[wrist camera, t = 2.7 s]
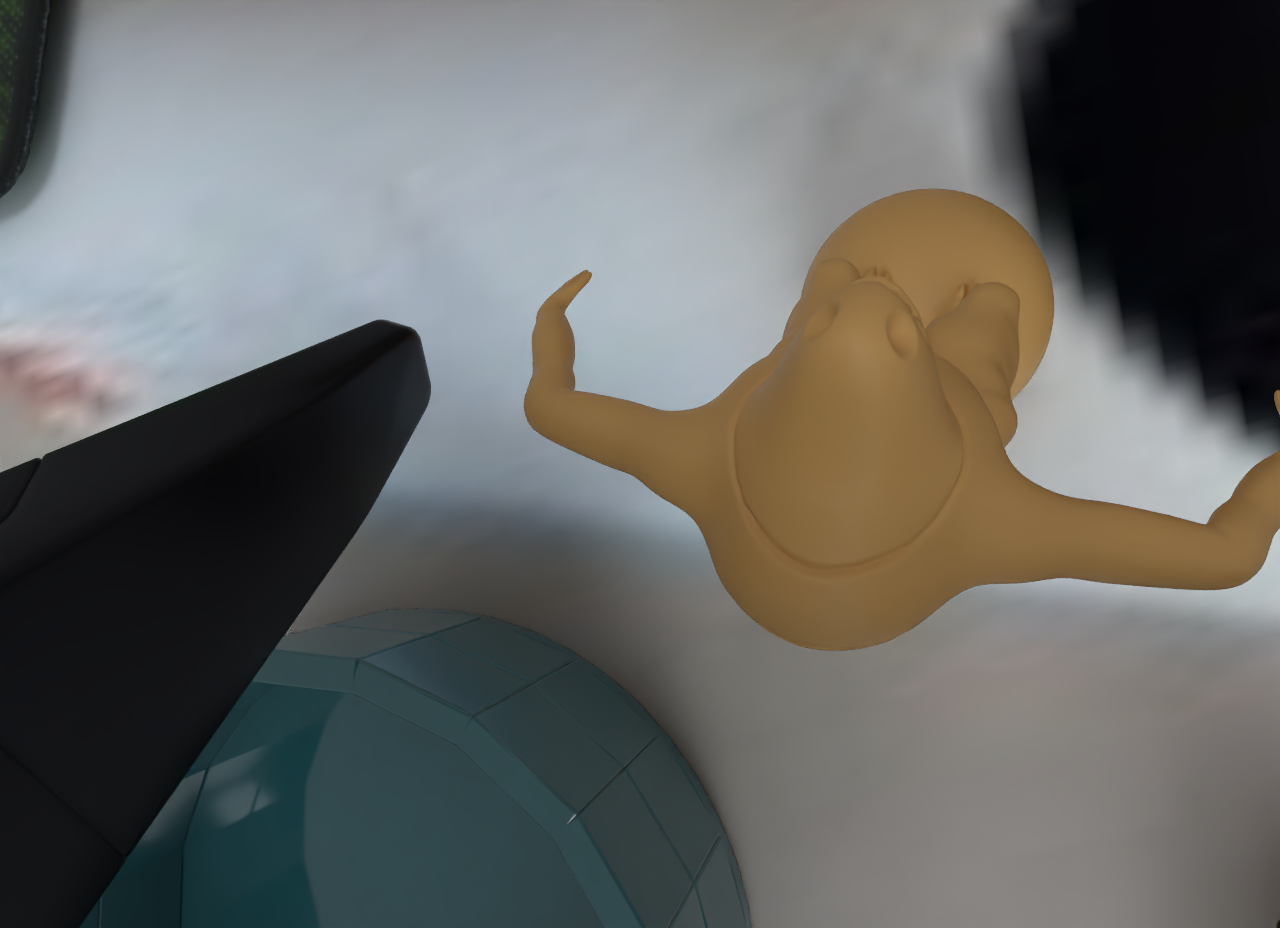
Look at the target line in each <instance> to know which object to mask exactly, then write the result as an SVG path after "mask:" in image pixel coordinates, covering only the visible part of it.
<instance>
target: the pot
mask: <svg viewBox="0 0 1280 928" xmlns="http://www.w3.org/2000/svg"><path fill="white" fill-rule="evenodd" d="M125 858H126V862H125V863H124V865H123V866H122V868H121V869H120V871H119V872H118V873H117V875H116V876H115V878H114V879H113V881H112V882H111V883H110V885H109V886H108V888H107V889H106V890H105V892H104V893H103V895H102V896H101V898H100V899H99V900H98V902H97V903H96V905H95V906H94V908H93V909H92V910H91V912H90V913H89V915H88V916H87V918H86V919H85V920H84V922H83V923H82V925H81V926H80V927H79V928H751V920H750V913H749V907H748V903H747V899H746V896H745V892H744V888H743V884H742V880H741V876H740V873H739V869H738V865H737V862H736V859H735V856H734V854H733V851H732V849H731V846H730V844H729V841H728V839H727V836H726V834H725V831H724V829H723V826H722V824H721V821H720V818H719V816H718V814H717V813H716V811H715V809H714V807H713V805H712V803H711V801H710V800H709V798H708V796H707V794H706V792H705V790H704V789H703V787H702V785H701V783H700V781H699V779H698V777H697V776H696V774H695V773H694V771H693V770H692V768H691V767H690V765H689V764H688V763H687V761H686V760H685V758H684V757H683V756H682V754H681V753H680V751H679V750H678V748H677V747H676V746H675V744H674V743H673V741H672V740H671V739H670V737H669V736H668V735H667V734H666V733H665V731H664V730H663V729H662V728H661V727H660V726H659V725H658V724H657V723H656V721H655V720H654V719H653V718H652V717H651V716H650V715H649V714H648V713H647V711H646V710H645V709H644V708H643V707H642V706H641V705H640V704H639V703H638V702H637V701H636V700H635V699H634V698H633V697H632V696H630V695H629V694H628V693H627V692H626V691H625V690H624V689H622V688H621V687H620V686H619V685H618V684H617V683H616V682H614V681H613V680H612V679H611V678H610V677H609V676H607V675H606V674H605V673H604V672H602V671H601V670H599V669H598V668H596V667H595V666H593V665H592V664H590V663H589V662H587V661H586V660H584V659H583V658H581V657H580V656H578V655H577V654H576V653H574V652H573V651H571V650H570V649H568V648H566V647H564V646H562V645H560V644H558V643H556V642H554V641H552V640H550V639H548V638H546V637H544V636H542V635H540V634H538V633H536V632H534V631H532V630H529V629H526V628H523V627H520V626H517V625H514V624H511V623H508V622H505V621H502V620H499V619H497V618H494V617H489V616H484V615H478V614H473V613H468V612H462V611H457V610H442V609H418V608H416V609H407V610H398V609H390V610H389V609H386V610H382V611H378V612H375V613H371V614H367V615H363V616H359V617H355V618H351V619H348V620H344V621H340V622H336V623H332V624H328V625H325V626H321V627H317V628H313V629H309V630H305V631H301V632H297V633H294V634H290V635H286V636H283V637H282V639H281V640H280V642H279V643H278V645H277V646H276V647H275V649H274V650H273V652H272V653H271V654H270V656H269V657H268V659H267V660H266V662H265V663H264V664H263V666H262V667H261V669H260V670H259V672H258V673H257V674H256V676H255V677H254V679H253V680H252V682H251V683H250V684H249V686H248V687H247V689H246V690H245V692H244V693H243V694H242V696H241V697H240V699H239V700H238V702H237V703H236V704H235V706H234V707H233V709H232V710H231V711H230V713H229V714H228V716H227V717H226V719H225V720H224V721H223V723H222V724H221V726H220V727H219V729H218V730H217V731H216V733H215V734H214V736H213V737H212V739H211V740H210V741H209V743H208V744H207V746H206V747H205V749H204V750H203V751H202V753H201V754H200V756H199V757H198V759H197V760H196V761H195V763H194V764H193V766H192V767H191V768H190V770H189V771H188V773H187V774H186V776H185V777H184V778H183V780H182V781H181V783H180V784H179V786H178V787H177V788H176V790H175V791H174V793H173V794H172V796H171V797H170V798H169V800H168V801H167V803H166V804H165V806H164V807H163V808H162V810H161V811H160V813H159V814H158V816H157V817H156V818H155V820H154V821H153V823H152V824H151V825H150V827H149V828H148V830H147V831H146V833H145V834H144V835H143V837H142V838H141V840H140V841H139V843H138V844H137V845H136V847H135V848H134V850H133V851H132V853H131V854H130V855H129V856H128V857H125Z"/></svg>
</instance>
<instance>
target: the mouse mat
mask: <svg viewBox="0 0 1280 928" xmlns="http://www.w3.org/2000/svg"><path fill="white" fill-rule="evenodd" d="M50 1H51V0H0V198H1V197H2V196H3V195H5V194H6V193H7V192H8V191H9V190H10V189H11V188H12V187H13V185H14V184H15V182H16V180H17V178H18V177H19V175H20V174H21V173H22V171H23V170H24V167H25V164H26V161H27V158H28V155H29V152H30V144H31V141H32V138H33V132H34V125H35V116H36V108H37V102H38V95H39V88H40V81H41V75H42V63H43V56H44V49H45V43H46V37H47V27H48V18H49V11H50Z"/></svg>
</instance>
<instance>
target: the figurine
mask: <svg viewBox="0 0 1280 928" xmlns="http://www.w3.org/2000/svg"><path fill="white" fill-rule="evenodd" d="M591 276H592V273H591V272H589V271H588V270H585V271H583V272H581V273H580V274H578V275H576V276H575V277H573V278H572V279H571V280H569V281H568V282H566V283H565V284H564V285H563V286H562V287H560V288H559V289H558V290H557V291H556V292H555V293H553V294H552V295H551V296H550V297H549V298H548V299H547V300H546V301H545V302H544V303H543V305H542V306H541V307H540V309H539V311H538V313H537V317H536V325H535V327H534V330H533V333H532V354H533V374H532V378H531V380H530V383H529V386H528V388H527V391H526V394H525V398H524V411H525V415H526V418H527V421H528V423H529V424H530V426H531V427H532V428H533V429H534V430H535V431H536V432H538V433H539V434H541V435H542V436H544V437H545V438H547V439H549V440H551V441H553V442H555V443H557V444H559V445H561V446H563V447H565V448H567V449H570V450H572V451H574V452H576V453H578V454H581V455H583V456H585V457H587V458H590V459H592V460H594V461H596V462H599V463H601V464H604V465H606V466H609V467H611V468H614V469H617V470H620V471H623V472H626V473H628V474H630V475H632V476H634V477H636V478H637V479H638V480H640V481H641V482H642V483H643V484H645V485H646V486H647V487H648V488H649V489H650V490H652V491H653V492H654V493H656V494H657V495H659V496H660V497H661V498H663V499H665V500H666V501H668V502H670V503H672V504H673V505H675V506H677V507H678V508H680V509H681V510H683V511H684V512H686V513H687V514H688V515H689V516H690V517H691V518H692V519H693V520H694V521H695V522H696V524H697V525H698V527H699V528H700V530H701V532H702V534H703V536H704V539H705V541H706V544H707V546H708V549H709V552H710V555H711V558H712V561H713V564H714V567H715V569H716V572H717V574H718V576H719V578H720V580H721V582H722V584H723V586H724V587H725V589H726V590H727V592H728V593H729V594H730V596H731V597H732V598H733V599H734V600H735V602H736V603H737V604H738V605H739V606H740V608H741V609H742V610H743V611H744V612H745V613H746V614H747V615H748V616H749V617H751V618H752V619H753V620H754V621H755V622H756V623H758V624H759V625H760V626H762V627H763V628H765V629H766V630H768V631H769V632H771V633H772V634H774V635H776V636H778V637H780V638H782V639H784V640H786V641H788V642H790V643H793V644H796V645H799V646H802V647H806V648H811V649H817V650H829V651H842V650H853V649H860V648H865V647H870V646H874V645H877V644H881V643H884V642H887V641H889V640H892V639H894V638H896V637H898V636H899V635H901V634H903V633H905V632H907V631H909V630H911V629H912V628H914V627H915V626H917V625H918V624H920V623H921V622H922V621H924V620H925V619H926V618H928V617H929V616H930V615H931V614H932V613H934V612H935V611H936V610H937V609H939V608H940V607H941V606H942V605H944V604H945V603H946V602H947V601H949V600H950V599H951V598H953V597H954V596H956V595H957V594H959V593H961V592H963V591H965V590H967V589H969V588H972V587H976V586H980V585H986V584H1011V583H1026V582H1034V581H1040V580H1047V579H1055V578H1073V579H1081V580H1087V581H1094V582H1101V583H1110V584H1121V585H1133V586H1145V587H1158V588H1171V589H1187V590H1221V589H1229V588H1233V587H1237V586H1239V585H1242V584H1243V583H1245V582H1247V581H1248V580H1250V579H1251V578H1252V577H1253V576H1254V575H1256V573H1257V572H1258V571H1259V570H1260V569H1261V567H1262V566H1263V564H1264V562H1265V560H1266V557H1267V554H1268V551H1269V548H1270V545H1271V542H1272V539H1273V536H1274V534H1275V533H1276V532H1277V530H1278V529H1279V528H1280V451H1278V452H1276V453H1274V454H1273V455H1271V456H1269V457H1268V458H1266V459H1264V460H1262V461H1261V462H1259V463H1258V464H1257V465H1255V466H1254V467H1253V468H1252V469H1251V470H1250V471H1249V472H1248V473H1247V474H1246V475H1245V476H1244V477H1243V479H1242V480H1241V481H1240V482H1239V484H1238V485H1237V487H1236V489H1235V490H1234V492H1233V494H1232V496H1231V498H1230V499H1229V500H1228V501H1227V502H1225V503H1224V504H1222V505H1221V506H1220V507H1218V508H1217V509H1216V510H1215V511H1214V512H1213V514H1212V515H1211V517H1210V518H1209V520H1208V523H1207V524H1205V525H1204V524H1200V523H1196V522H1192V521H1188V520H1185V519H1181V518H1177V517H1173V516H1170V515H1165V514H1161V513H1157V512H1152V511H1147V510H1143V509H1138V508H1134V507H1129V506H1124V505H1119V504H1114V503H1108V502H1101V501H1093V500H1085V499H1078V498H1073V497H1068V496H1064V495H1061V494H1058V493H1055V492H1052V491H1050V490H1047V489H1045V488H1043V487H1041V486H1039V485H1037V484H1035V483H1034V482H1032V481H1030V480H1029V479H1027V478H1026V477H1025V476H1023V475H1022V474H1021V473H1020V472H1019V471H1018V470H1017V469H1016V468H1015V467H1014V466H1013V464H1012V463H1011V462H1010V460H1009V458H1008V456H1007V454H1006V452H1005V449H1004V448H1005V447H1006V446H1007V444H1008V443H1009V442H1010V441H1011V439H1012V438H1013V436H1014V434H1015V432H1016V429H1017V415H1016V411H1015V409H1014V407H1013V404H1012V399H1013V398H1014V397H1015V396H1016V395H1017V394H1018V393H1019V392H1020V391H1021V390H1022V389H1023V388H1024V387H1025V385H1026V384H1027V383H1028V382H1029V380H1030V379H1031V377H1032V376H1033V374H1034V373H1035V371H1036V370H1037V368H1038V366H1039V364H1040V362H1041V360H1042V358H1043V356H1044V354H1045V351H1046V348H1047V346H1048V342H1049V339H1050V335H1051V331H1052V325H1053V317H1054V296H1053V288H1052V282H1051V278H1050V274H1049V271H1048V268H1047V265H1046V263H1045V260H1044V258H1043V256H1042V254H1041V252H1040V250H1039V248H1038V247H1037V245H1036V243H1035V242H1034V240H1033V239H1032V238H1031V236H1030V235H1029V234H1028V232H1027V231H1026V230H1025V229H1024V228H1023V227H1022V226H1021V225H1020V224H1019V223H1018V222H1017V221H1016V220H1015V219H1014V218H1013V217H1012V216H1010V215H1009V214H1008V213H1006V212H1005V211H1004V210H1002V209H1001V208H999V207H997V206H996V205H994V204H992V203H990V202H988V201H986V200H984V199H982V198H979V197H976V196H974V195H971V194H967V193H963V192H959V191H954V190H946V189H919V190H911V191H906V192H901V193H897V194H894V195H891V196H888V197H885V198H882V199H880V200H878V201H876V202H873V203H871V204H870V205H868V206H866V207H864V208H863V209H861V210H859V211H858V212H856V213H855V214H854V215H852V216H851V217H850V218H848V219H847V220H846V221H845V222H843V223H842V224H841V225H840V226H839V227H838V228H837V229H836V230H835V231H834V232H833V233H832V234H831V236H830V237H829V238H828V239H827V240H826V242H825V243H824V244H823V246H822V247H821V249H820V250H819V252H818V253H817V255H816V257H815V259H814V261H813V263H812V265H811V267H810V269H809V271H808V274H807V277H806V279H805V283H804V286H803V290H802V295H801V299H800V300H799V301H798V303H797V304H796V306H795V307H794V309H793V310H792V312H791V314H790V316H789V318H788V321H787V324H786V327H785V330H784V334H783V338H782V341H780V342H779V343H778V344H777V345H776V347H775V348H774V349H773V350H772V352H771V353H770V354H769V355H768V356H767V357H765V358H763V359H761V360H760V361H758V362H756V363H755V364H753V365H752V366H750V367H749V368H748V369H746V370H745V371H744V372H743V373H742V374H741V375H740V376H738V377H737V378H736V379H735V381H734V382H733V383H732V384H731V385H730V386H729V387H728V388H727V389H726V390H725V391H724V392H722V393H721V394H720V395H719V396H718V397H717V398H715V399H714V400H712V401H711V402H709V403H707V404H705V405H703V406H701V407H698V408H694V409H690V410H683V411H664V410H659V409H655V408H651V407H648V406H645V405H642V404H639V403H635V402H632V401H628V400H623V399H619V398H614V397H609V396H604V395H599V394H594V393H587V392H580V391H574V389H575V377H574V373H573V364H574V358H575V342H574V336H573V332H572V329H571V327H570V324H569V322H568V320H567V318H566V316H565V314H564V313H565V310H566V308H567V307H568V305H569V304H570V303H571V301H572V300H573V299H574V297H575V296H576V295H577V294H578V292H579V291H580V290H581V289H582V288H583V287H584V286H585V285H586V284H587V283H588V282H589V280H590V278H591ZM1274 400H1275V404H1276V407H1277V409H1278V412H1279V414H1280V391H1279V390H1277V391H1276V392H1275V395H1274Z"/></svg>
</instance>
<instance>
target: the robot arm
mask: <svg viewBox="0 0 1280 928" xmlns="http://www.w3.org/2000/svg"><path fill="white" fill-rule="evenodd" d="M430 395H431V383H430V378H429V374H428V369H427V365H426V360H425V356H424V351H423V347H422V343H421V339H420V336H419V335H418V333H417V332H416V331H415V330H414V329H412V328H411V327H408V326H404V325H401V324H398V323H395V322H392V321H388V320H376V321H373V322H370V323H367V324H365V325H363V326H360V327H358V328H355V329H353V330H350V331H348V332H345V333H343V334H340V335H338V336H335V337H333V338H331V339H328V340H326V341H323V342H321V343H318V344H316V345H313V346H311V347H308V348H306V349H304V350H301V351H299V352H296V353H294V354H291V355H289V356H286V357H284V358H281V359H279V360H277V361H274V362H272V363H269V364H267V365H264V366H262V367H259V368H257V369H254V370H252V371H249V372H247V373H245V374H242V375H240V376H237V377H235V378H232V379H230V380H227V381H225V382H222V383H220V384H218V385H215V386H213V387H210V388H208V389H205V390H203V391H200V392H198V393H195V394H193V395H190V396H188V397H186V398H183V399H181V400H178V401H176V402H173V403H171V404H168V405H166V406H163V407H161V408H158V409H156V410H154V411H151V412H149V413H146V414H144V415H141V416H139V417H136V418H134V419H131V420H129V421H126V422H124V423H122V424H119V425H117V426H114V427H112V428H109V429H107V430H104V431H102V432H99V433H97V434H94V435H92V436H90V437H87V438H85V439H82V440H80V441H77V442H75V443H72V444H70V445H67V446H65V447H62V448H60V449H57V450H55V451H53V452H50V453H48V454H46V455H45V456H44V457H43V459H40V458H35V459H32V460H30V461H28V462H25V463H23V464H20V465H18V466H15V467H13V468H11V469H8V470H6V471H3V472H1V473H0V928H79V927H80V926H81V925H82V923H83V922H84V920H85V919H86V918H87V916H88V915H89V913H90V912H91V910H92V909H93V908H94V906H95V905H96V903H97V902H98V900H99V899H100V898H101V896H102V895H103V893H104V892H105V890H106V889H107V888H108V886H109V885H110V883H111V882H112V881H113V879H114V878H115V876H116V875H117V873H118V872H119V871H120V869H121V868H122V866H123V865H124V863H125V862H126V858H125V857H128V856H129V855H130V854H131V853H132V851H133V850H134V848H135V847H136V845H137V844H138V843H139V841H140V840H141V838H142V837H143V835H144V834H145V833H146V831H147V830H148V828H149V827H150V825H151V824H152V823H153V821H154V820H155V818H156V817H157V816H158V814H159V813H160V811H161V810H162V808H163V807H164V806H165V804H166V803H167V801H168V800H169V798H170V797H171V796H172V794H173V793H174V791H175V790H176V788H177V787H178V786H179V784H180V783H181V781H182V780H183V778H184V777H185V776H186V774H187V773H188V771H189V770H190V768H191V767H192V766H193V764H194V763H195V761H196V760H197V759H198V757H199V756H200V754H201V753H202V751H203V750H204V749H205V747H206V746H207V744H208V743H209V741H210V740H211V739H212V737H213V736H214V734H215V733H216V731H217V730H218V729H219V727H220V726H221V724H222V723H223V721H224V720H225V719H226V717H227V716H228V714H229V713H230V711H231V710H232V709H233V707H234V706H235V704H236V703H237V702H238V700H239V699H240V697H241V696H242V694H243V693H244V692H245V690H246V689H247V687H248V686H249V684H250V683H251V682H252V680H253V679H254V677H255V676H256V674H257V673H258V672H259V670H260V669H261V667H262V666H263V664H264V663H265V662H266V660H267V659H268V657H269V656H270V654H271V653H272V652H273V650H274V649H275V647H276V646H277V645H278V643H279V642H280V640H281V639H282V637H283V636H284V635H285V633H286V632H287V630H288V629H289V627H290V626H291V625H292V623H293V622H294V620H295V619H296V617H297V616H298V615H299V613H300V612H301V610H302V609H303V607H304V606H305V605H306V603H307V602H308V600H309V599H310V597H311V596H312V595H313V593H314V592H315V590H316V589H317V588H318V586H319V585H320V583H321V582H322V580H323V579H324V578H325V576H326V575H327V573H328V572H329V570H330V569H331V568H332V566H333V565H334V563H335V562H336V560H337V559H338V558H339V556H340V555H341V553H342V552H343V550H344V549H345V548H346V546H347V545H348V543H349V542H350V540H351V539H352V538H353V536H354V535H355V533H356V532H357V530H358V529H359V527H360V526H361V524H362V523H363V521H364V520H365V518H366V516H367V515H368V513H369V511H370V510H371V508H372V506H373V505H374V503H375V501H376V499H377V498H378V496H379V494H380V492H381V490H382V489H383V487H384V485H385V483H386V481H387V479H388V478H389V476H390V474H391V472H392V470H393V468H394V467H395V465H396V463H397V461H398V459H399V458H400V456H401V454H402V452H403V450H404V448H405V447H406V445H407V443H408V441H409V439H410V437H411V436H412V434H413V432H414V430H415V428H416V427H417V425H418V423H419V421H420V419H421V417H422V416H423V414H424V412H425V410H426V408H427V406H428V403H429V400H430Z"/></svg>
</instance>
